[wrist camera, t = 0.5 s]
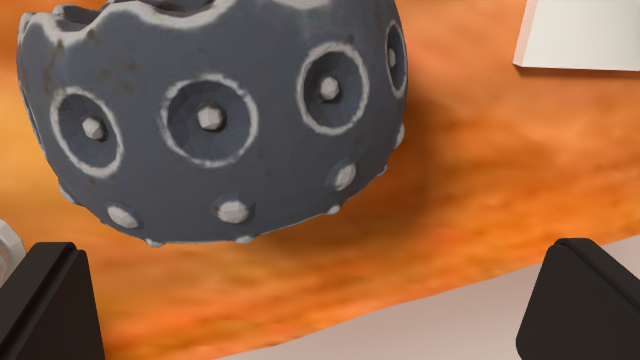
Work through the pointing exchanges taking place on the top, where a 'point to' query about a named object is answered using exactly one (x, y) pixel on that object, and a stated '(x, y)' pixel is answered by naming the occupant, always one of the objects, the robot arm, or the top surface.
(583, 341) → the robot arm
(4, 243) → the french press
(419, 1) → the top surface
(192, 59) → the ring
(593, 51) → the white fixture base plate
